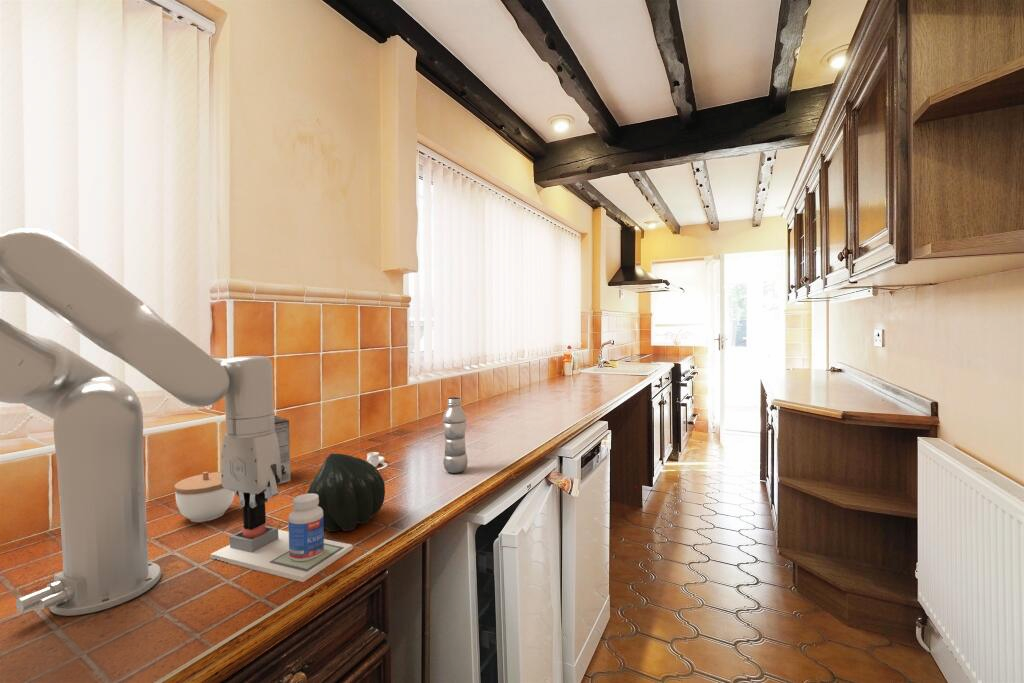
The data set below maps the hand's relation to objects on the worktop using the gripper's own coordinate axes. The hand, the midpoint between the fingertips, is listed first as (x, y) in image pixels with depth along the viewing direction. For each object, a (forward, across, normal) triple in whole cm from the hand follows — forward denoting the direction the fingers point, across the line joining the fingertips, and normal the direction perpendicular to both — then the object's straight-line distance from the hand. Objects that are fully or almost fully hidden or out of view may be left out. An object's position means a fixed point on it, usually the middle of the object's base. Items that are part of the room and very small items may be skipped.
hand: (254, 525), depth 82 cm
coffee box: (+4, -28, +27) cm, 39 cm away
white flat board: (+4, +7, 0) cm, 8 cm away
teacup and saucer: (+5, -8, +48) cm, 49 cm away
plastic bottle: (+4, +14, +49) cm, 51 cm away
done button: (+2, 0, 0) cm, 2 cm away
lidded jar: (+4, -22, +6) cm, 23 cm away
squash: (+4, +9, +14) cm, 17 cm away
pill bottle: (+3, +12, 0) cm, 13 cm away
